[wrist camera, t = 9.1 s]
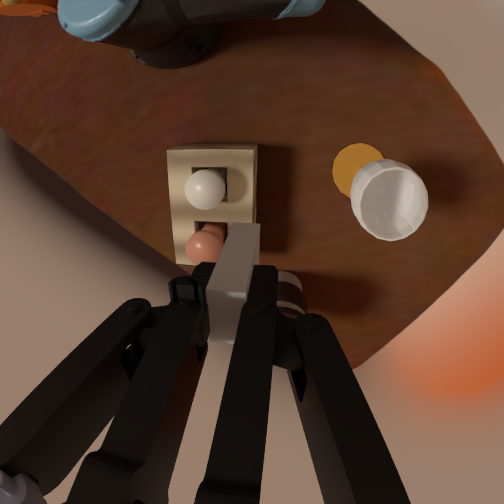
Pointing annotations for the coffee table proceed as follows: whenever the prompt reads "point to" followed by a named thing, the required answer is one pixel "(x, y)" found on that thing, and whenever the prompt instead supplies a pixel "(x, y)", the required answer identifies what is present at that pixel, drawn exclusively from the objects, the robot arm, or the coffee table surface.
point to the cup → (381, 192)
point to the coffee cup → (290, 295)
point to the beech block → (236, 196)
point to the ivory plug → (206, 187)
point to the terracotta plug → (207, 243)
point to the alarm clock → (28, 7)
